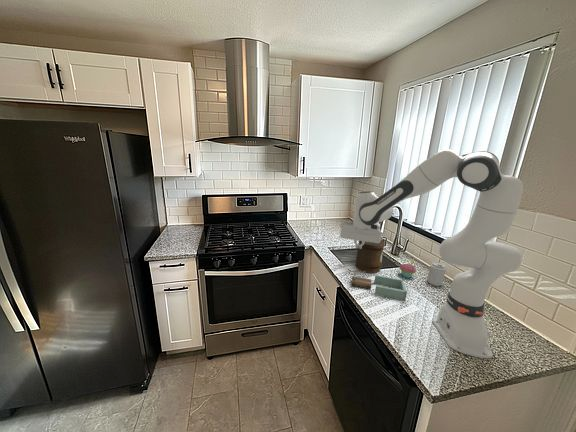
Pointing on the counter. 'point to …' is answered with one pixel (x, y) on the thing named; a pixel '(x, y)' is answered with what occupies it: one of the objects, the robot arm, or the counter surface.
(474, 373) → the counter surface
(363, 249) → the wooden container
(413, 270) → the cupcake
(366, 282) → the brown block
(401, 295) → the tray
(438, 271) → the grey lidded jar
